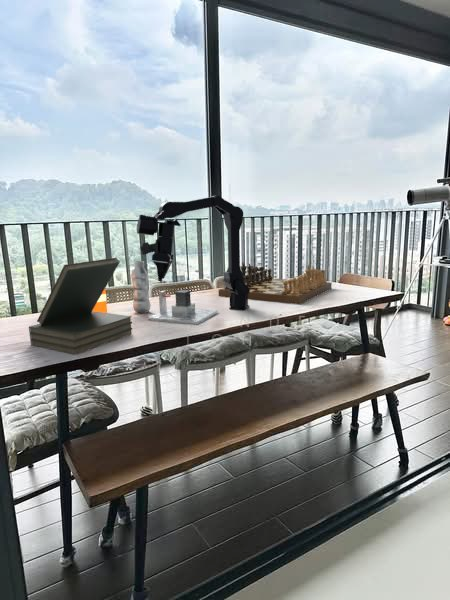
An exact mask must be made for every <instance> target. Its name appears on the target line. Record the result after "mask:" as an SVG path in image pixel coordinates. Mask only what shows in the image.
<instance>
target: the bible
mask: <svg viewBox="0 0 450 600" xmlns="http://www.w3.org/2000/svg"><path fill="white" fill-rule="evenodd" d="M120 262H121V261H120V260H119V259H118V258H117V257H111V258H102V259H95V260H89V261H83V262H82V261H80V262H73V263H68V264H67V263H66V264H64V265H63V266H62V269H61V271H60V272H59V275H58V277H57V279H56V281H55V283H54V286H53V287H52V290H51V292H50V294H49V296H48V297H47V300H46V301H45V304H44V306H43V308H42V310H41V312H40V314H39V316H38V318H37V320H36V324H34V325H33V324H32V325H29V326H28V331H29V339H30V346H34V347H38V348H43V349H48V350H53V351H56V352H57V351H58V352H63V353H67V354H71V355H78V354H81V353H85V352H87V351H90V350H92V349H95V348H98V347H101V346H103V345H107V344H108V343H112V342H114V341H117V340H120V339H122V338H125V337H127V336H130V335H132V332H133V331H132V330H133V327H132V323H133V321H131V320H132V316H131V315H125V314H117V313H110V312H107V313H103V312H96V311H92V310H93V308H94V307H95V305H96V303H97V301H98V300H99V298H100V296H101V294H102V293H103V291H104V289H105V290H106V287H107V286H108V284H109V282H110V281H111V279H112V276H113V275H114V273H115V271H116V269H117V268H118V266H119V264H120ZM37 323H38V324H37Z"/></svg>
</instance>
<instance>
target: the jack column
mask: <svg viewBox="0 0 450 600" xmlns="http://www.w3.org/2000/svg"><path fill="white" fill-rule="evenodd" d="M174 293H175V304H176V305H175V304H174V305H175V306H188V305H190V304H191V303H192V300H191V290H184V289H181V290H177V291H175V292H174Z"/></svg>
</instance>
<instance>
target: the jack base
mask: <svg viewBox="0 0 450 600" xmlns="http://www.w3.org/2000/svg"><path fill="white" fill-rule="evenodd" d="M166 292H167V291H166V290H161V291H158V301H159V302H158V303H159V304H158V305H159V312H157V313H155V314H153V315H149V316H148V317H147V321H156V322H164V323H165V322H167V323H178V324H188V325H198V324H201V323H202V322H204V321H206V320H208V319H210V318H211V317H213V316H215V315H217V314H218V313H219V310H218V309H207V308H206V309H204V308H196V303H195V302H194V303H193V302H191V304H190V305H188V306H175V305H176V303H175V304H172V305H171V307H170V308H168V307H167V298H171V294H167V293H166Z"/></svg>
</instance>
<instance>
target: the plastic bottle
mask: <svg viewBox="0 0 450 600" xmlns="http://www.w3.org/2000/svg"><path fill="white" fill-rule="evenodd" d="M133 267H134V269H133V270H132V272H131V274H130V277H131V284H132V288H133V305H132V306H133V307H132V308H133V311H135V312H136V313H141V314H144V313H147V312H150V311H151V306H152V305H151V301H150V297H149V289H148V288H149V285H148V284H149V273H148V271H147V270H146V269H145V262H144V260H136V261H133Z"/></svg>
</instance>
